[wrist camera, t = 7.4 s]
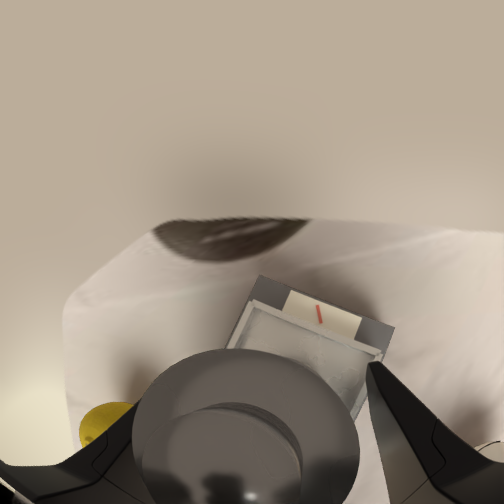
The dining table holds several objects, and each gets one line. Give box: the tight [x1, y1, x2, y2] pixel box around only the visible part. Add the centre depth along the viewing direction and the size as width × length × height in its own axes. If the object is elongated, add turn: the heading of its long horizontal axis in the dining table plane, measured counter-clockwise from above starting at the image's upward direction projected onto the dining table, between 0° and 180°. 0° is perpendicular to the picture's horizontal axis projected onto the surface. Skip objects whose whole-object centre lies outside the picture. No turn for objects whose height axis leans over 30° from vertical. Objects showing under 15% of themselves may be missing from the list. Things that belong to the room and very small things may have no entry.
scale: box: [224, 275, 395, 422], centre depth 17 cm, size 10×11×5 cm
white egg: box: [474, 441, 504, 462], centre depth 10 cm, size 10×7×7 cm
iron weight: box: [132, 348, 360, 504], centre depth 9 cm, size 4×4×14 cm
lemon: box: [79, 402, 133, 448], centre depth 16 cm, size 6×6×8 cm
